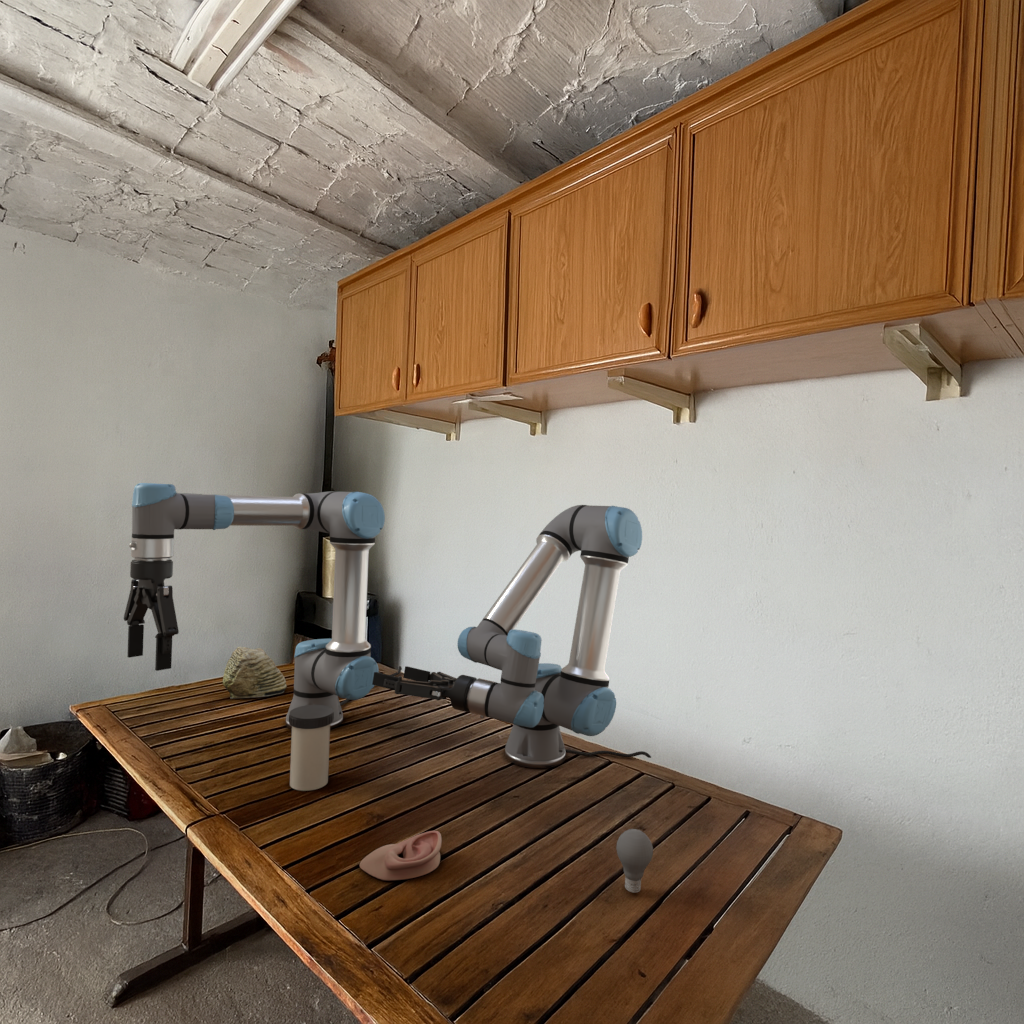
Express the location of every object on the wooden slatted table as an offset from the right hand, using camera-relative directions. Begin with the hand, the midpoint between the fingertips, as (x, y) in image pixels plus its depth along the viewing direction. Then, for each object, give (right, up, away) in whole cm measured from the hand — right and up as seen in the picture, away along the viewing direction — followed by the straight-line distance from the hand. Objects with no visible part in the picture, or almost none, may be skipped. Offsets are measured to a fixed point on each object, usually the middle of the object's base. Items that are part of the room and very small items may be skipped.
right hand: (390, 674), depth 146 cm
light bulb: (+48, -26, -40) cm, 68 cm away
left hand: (-46, +7, -17) cm, 49 cm away
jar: (-17, -22, -6) cm, 29 cm away
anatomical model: (+9, -24, -35) cm, 44 cm away
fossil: (-52, -20, +52) cm, 76 cm away
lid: (-16, -7, -6) cm, 19 cm away
